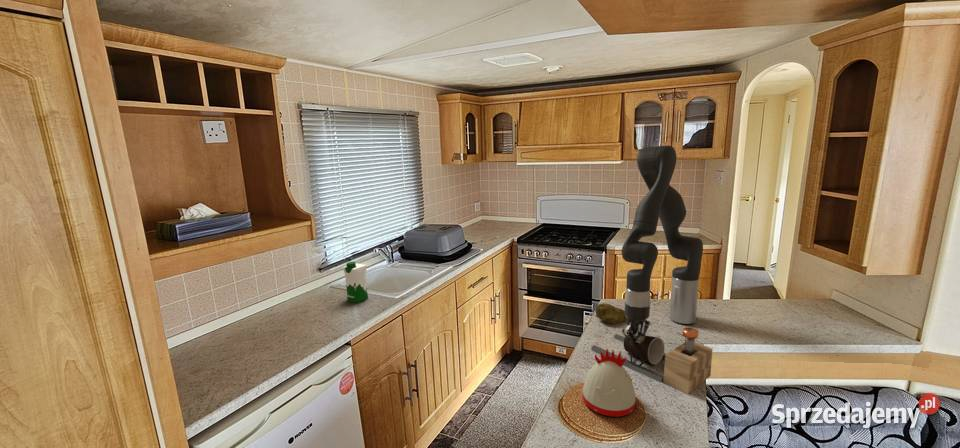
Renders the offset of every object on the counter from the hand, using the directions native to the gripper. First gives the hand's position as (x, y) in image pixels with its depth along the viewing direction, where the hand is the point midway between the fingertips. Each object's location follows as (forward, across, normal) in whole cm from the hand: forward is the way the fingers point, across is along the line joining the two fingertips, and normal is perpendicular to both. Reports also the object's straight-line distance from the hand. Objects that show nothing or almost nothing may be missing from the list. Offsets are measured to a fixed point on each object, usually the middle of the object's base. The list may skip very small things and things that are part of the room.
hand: (635, 351), depth 130 cm
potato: (+2, -17, -21) cm, 27 cm away
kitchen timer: (+2, +26, +8) cm, 27 cm away
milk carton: (+2, +53, -111) cm, 123 cm away
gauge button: (-7, 0, +17) cm, 18 cm away
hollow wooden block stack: (+2, 0, +17) cm, 17 cm away
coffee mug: (-1, -1, -4) cm, 4 cm away
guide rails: (+2, 0, 0) cm, 2 cm away
